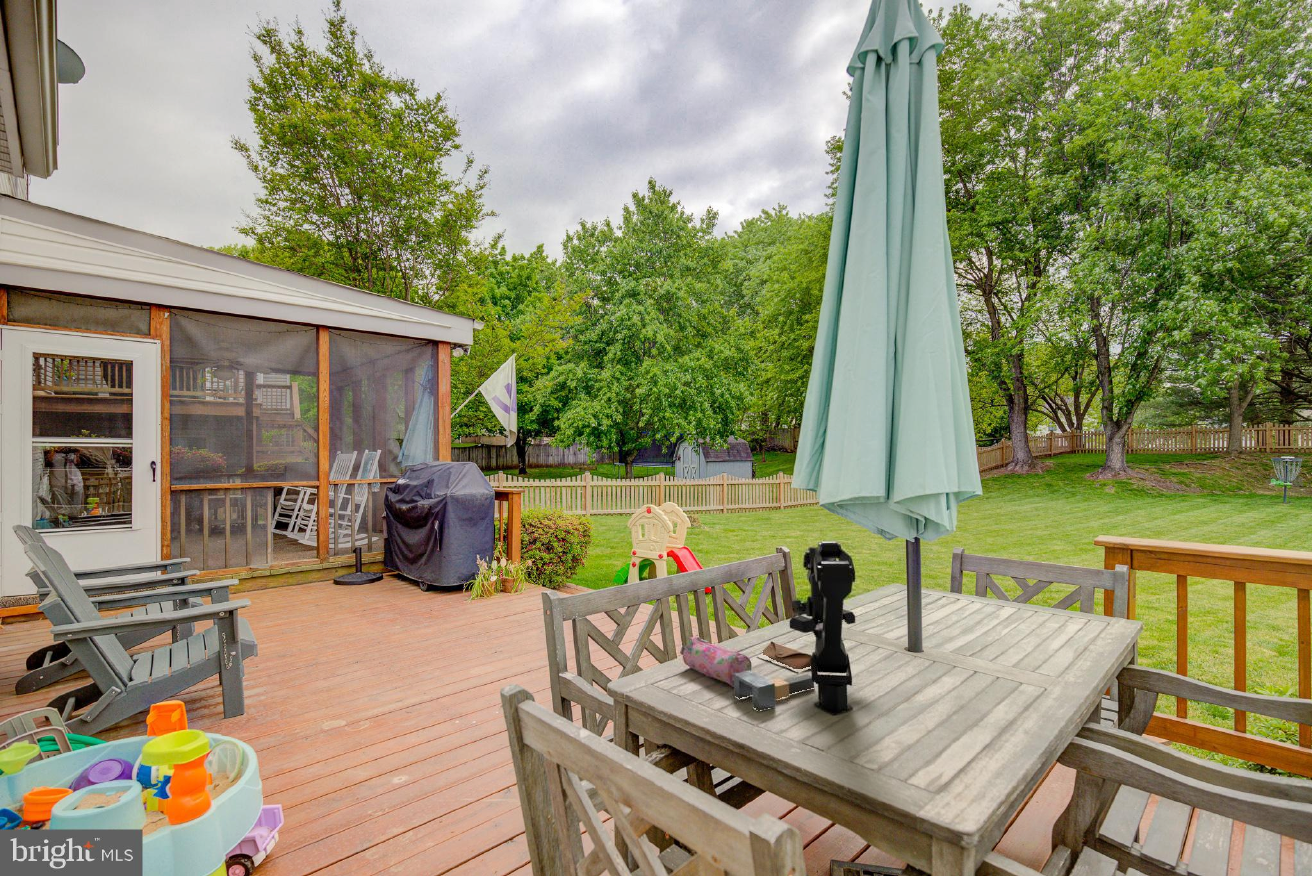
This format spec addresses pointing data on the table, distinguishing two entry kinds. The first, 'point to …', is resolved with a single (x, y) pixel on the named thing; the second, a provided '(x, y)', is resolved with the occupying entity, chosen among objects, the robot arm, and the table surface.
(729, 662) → the pencil case
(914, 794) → the table surface
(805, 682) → the plug
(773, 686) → the grey arch block
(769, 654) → the sunglasses case
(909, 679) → the table surface
